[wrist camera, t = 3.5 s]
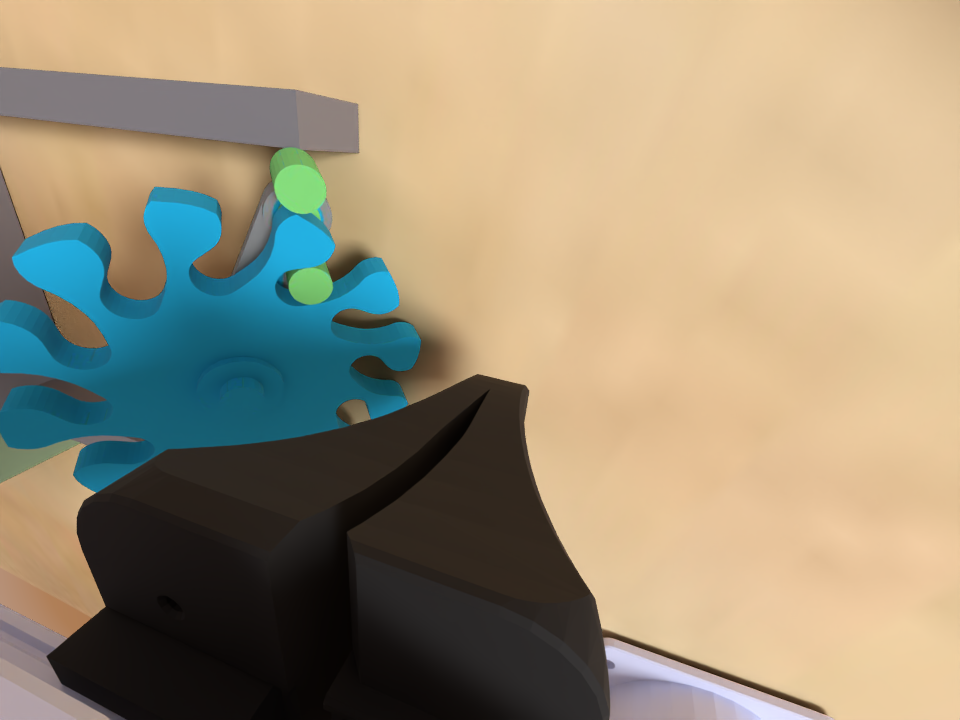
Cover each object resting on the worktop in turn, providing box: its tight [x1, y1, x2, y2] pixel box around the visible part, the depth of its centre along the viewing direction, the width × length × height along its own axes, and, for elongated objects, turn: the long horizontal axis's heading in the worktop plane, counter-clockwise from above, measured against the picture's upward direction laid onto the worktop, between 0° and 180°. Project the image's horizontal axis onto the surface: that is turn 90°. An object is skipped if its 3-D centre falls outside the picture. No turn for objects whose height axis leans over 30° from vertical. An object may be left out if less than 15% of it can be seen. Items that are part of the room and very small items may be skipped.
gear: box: [0, 147, 421, 493], centre depth 13 cm, size 11×6×10 cm
